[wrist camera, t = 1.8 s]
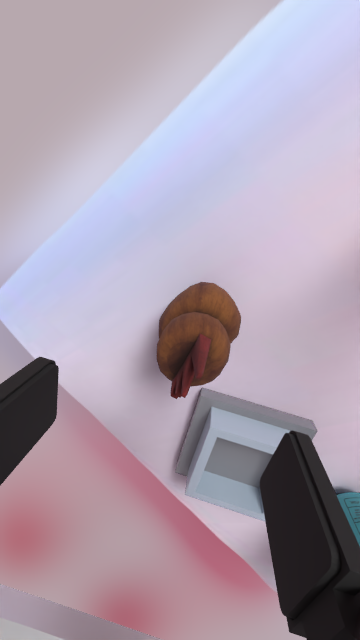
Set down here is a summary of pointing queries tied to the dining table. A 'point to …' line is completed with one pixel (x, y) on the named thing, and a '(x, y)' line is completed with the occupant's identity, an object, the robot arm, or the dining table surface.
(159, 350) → the wooden figurine
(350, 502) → the beverage bottle
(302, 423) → the figurine dock
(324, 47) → the dining table surface
